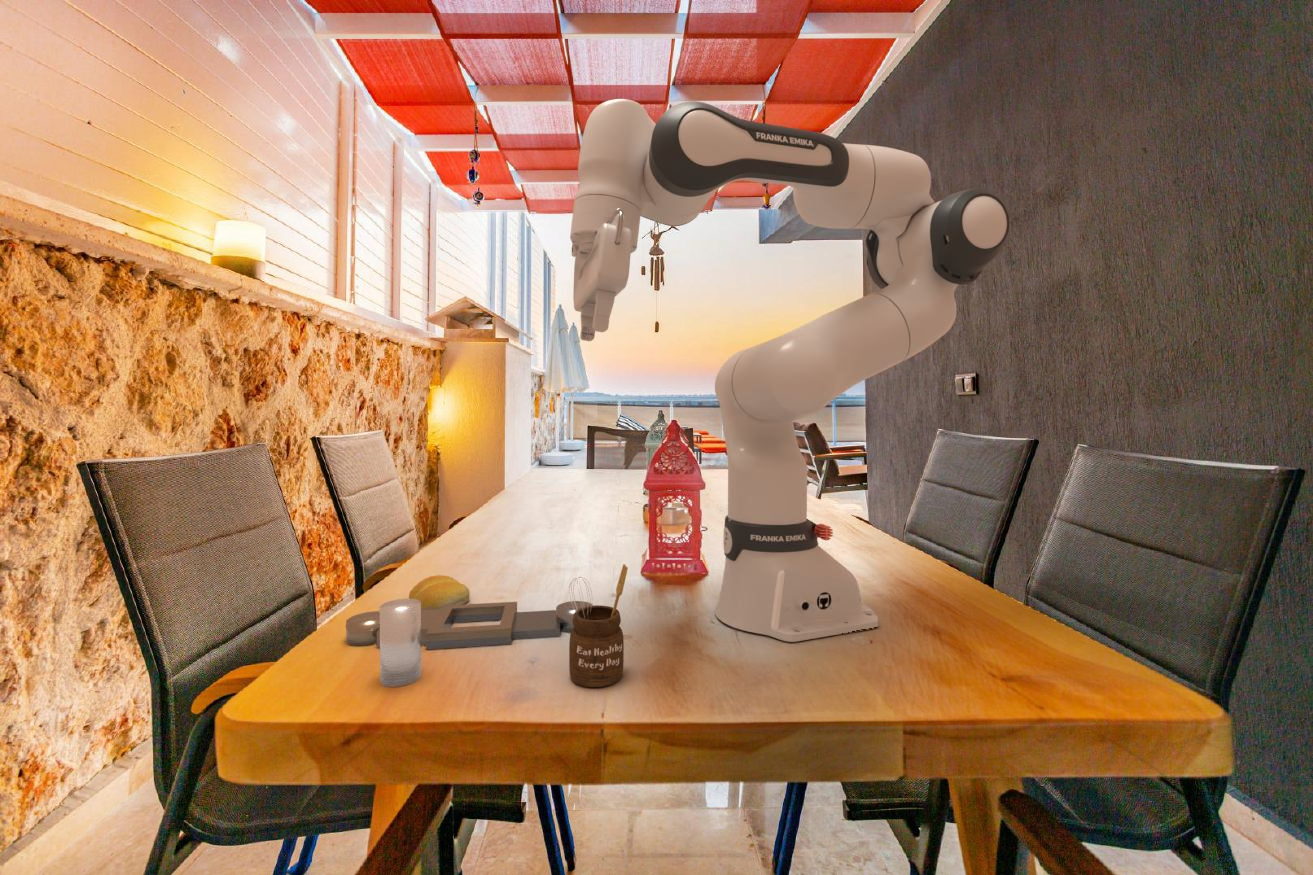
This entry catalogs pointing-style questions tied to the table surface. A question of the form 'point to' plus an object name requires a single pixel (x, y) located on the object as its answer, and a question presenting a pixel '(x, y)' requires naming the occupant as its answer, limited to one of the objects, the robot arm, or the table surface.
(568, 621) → the lower chain link
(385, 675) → the steel pin
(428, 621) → the upper chain link
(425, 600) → the bread roll
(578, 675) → the utensil holder
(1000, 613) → the table surface
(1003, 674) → the table surface
